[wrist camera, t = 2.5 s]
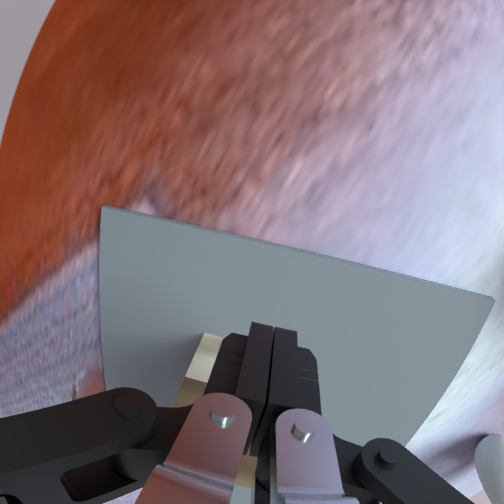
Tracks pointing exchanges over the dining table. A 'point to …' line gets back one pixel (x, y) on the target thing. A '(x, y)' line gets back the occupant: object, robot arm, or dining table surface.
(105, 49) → the dining table surface
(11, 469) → the robot arm
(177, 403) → the block
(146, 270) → the mat
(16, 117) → the dining table surface
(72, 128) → the dining table surface
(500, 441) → the donut
